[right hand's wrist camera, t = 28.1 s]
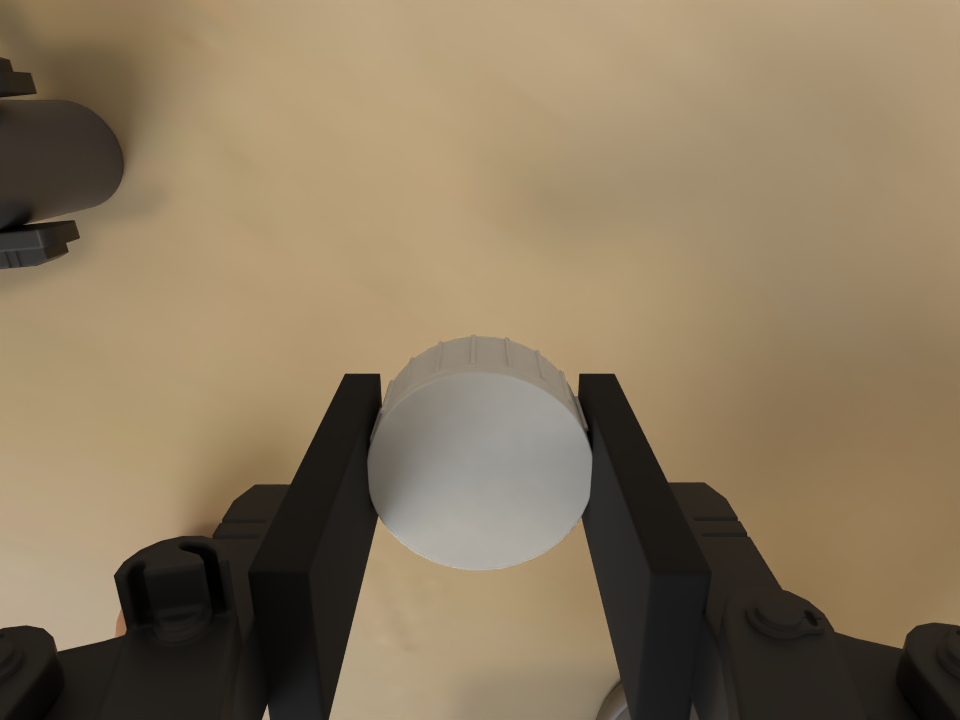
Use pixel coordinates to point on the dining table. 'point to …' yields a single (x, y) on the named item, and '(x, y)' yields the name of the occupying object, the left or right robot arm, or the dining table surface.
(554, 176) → the dining table surface
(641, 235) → the dining table surface
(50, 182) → the bottle
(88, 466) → the dining table surface
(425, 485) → the cap
